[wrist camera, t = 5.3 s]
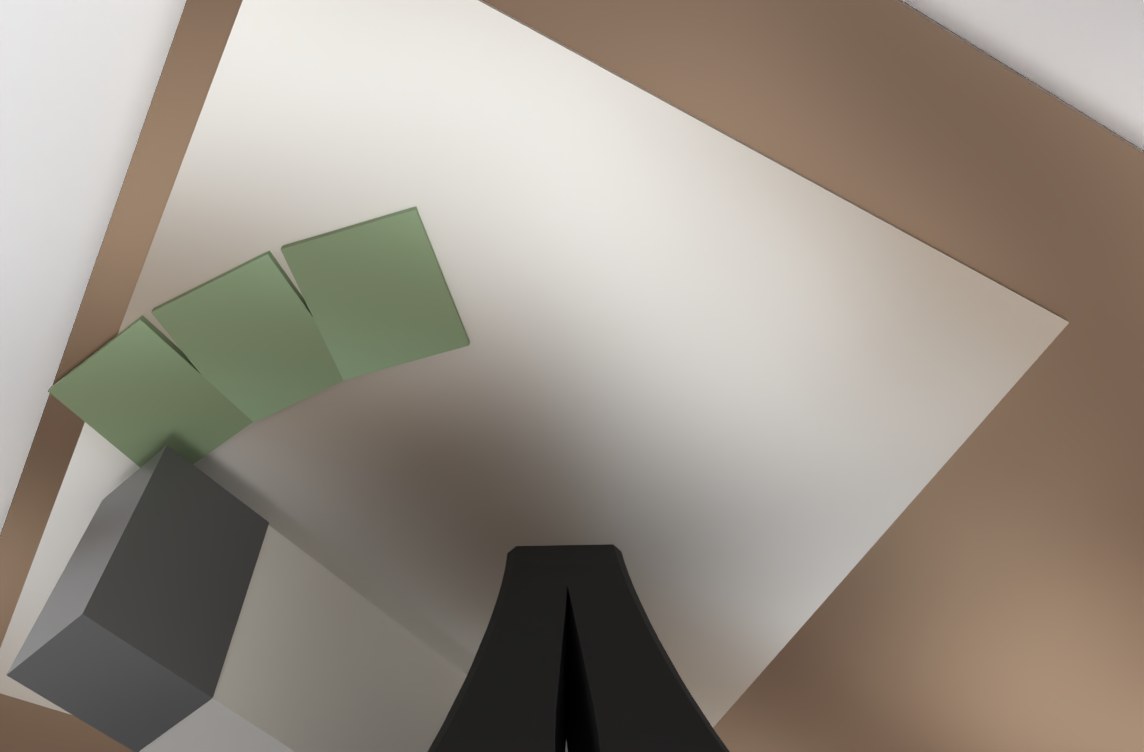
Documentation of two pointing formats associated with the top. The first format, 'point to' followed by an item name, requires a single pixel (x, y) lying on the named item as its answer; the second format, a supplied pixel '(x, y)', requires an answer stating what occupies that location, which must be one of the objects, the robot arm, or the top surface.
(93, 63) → the top surface
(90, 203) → the top surface
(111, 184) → the top surface
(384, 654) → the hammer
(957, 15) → the top surface
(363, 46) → the brown tray
